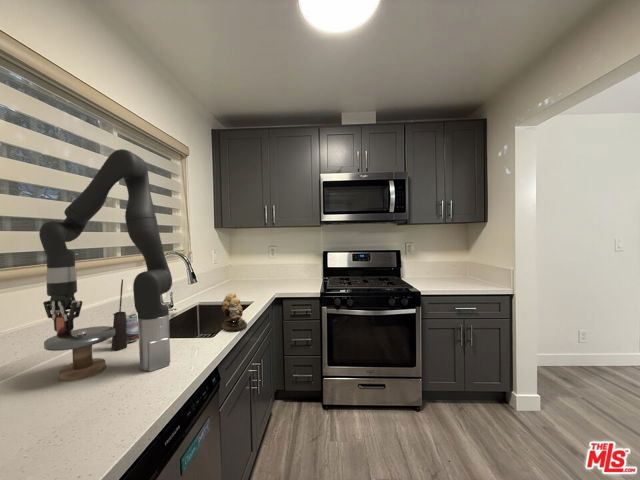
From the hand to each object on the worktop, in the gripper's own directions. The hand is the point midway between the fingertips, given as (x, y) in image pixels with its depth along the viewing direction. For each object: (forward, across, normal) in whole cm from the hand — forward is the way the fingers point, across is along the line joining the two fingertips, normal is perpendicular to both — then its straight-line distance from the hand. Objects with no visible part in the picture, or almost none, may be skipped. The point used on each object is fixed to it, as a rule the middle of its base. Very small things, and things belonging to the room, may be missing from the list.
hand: (63, 330), depth 94 cm
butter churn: (+14, -2, -18) cm, 22 cm away
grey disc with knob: (+3, -7, 0) cm, 8 cm away
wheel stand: (+14, -8, 0) cm, 16 cm away
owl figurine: (+14, -36, -50) cm, 63 cm away
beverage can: (+14, 0, -26) cm, 30 cm away
